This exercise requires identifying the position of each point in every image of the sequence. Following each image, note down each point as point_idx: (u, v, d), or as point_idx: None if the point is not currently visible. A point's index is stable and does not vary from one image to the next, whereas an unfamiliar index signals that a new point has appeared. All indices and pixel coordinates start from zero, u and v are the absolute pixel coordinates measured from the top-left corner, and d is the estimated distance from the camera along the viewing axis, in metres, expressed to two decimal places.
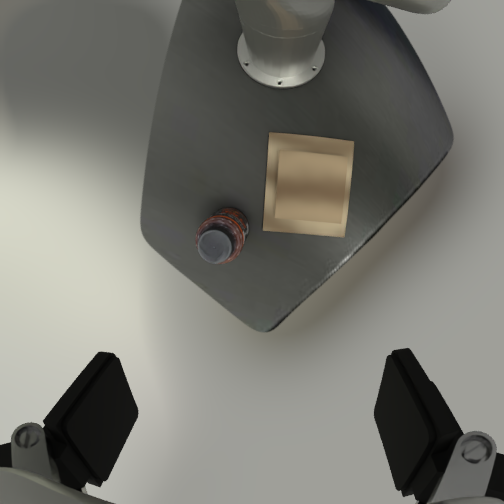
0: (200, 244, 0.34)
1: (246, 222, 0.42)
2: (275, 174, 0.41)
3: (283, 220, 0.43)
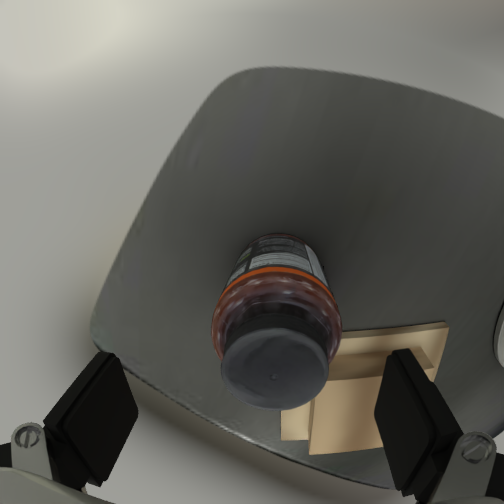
0: (279, 339, 0.10)
1: None
2: (383, 348, 0.21)
3: None
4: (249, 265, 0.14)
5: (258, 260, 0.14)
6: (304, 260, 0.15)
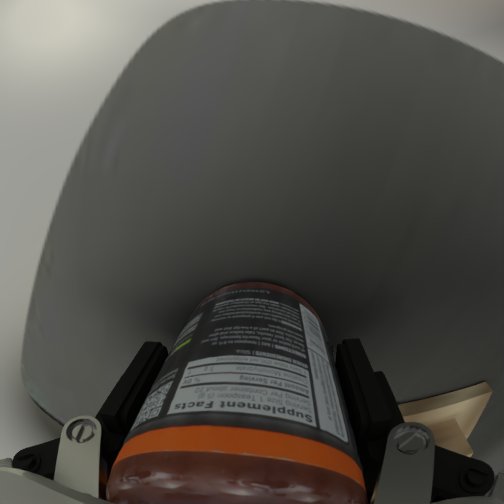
0: None
1: None
2: None
3: None
4: (174, 393, 0.06)
5: (193, 380, 0.06)
6: (298, 373, 0.06)
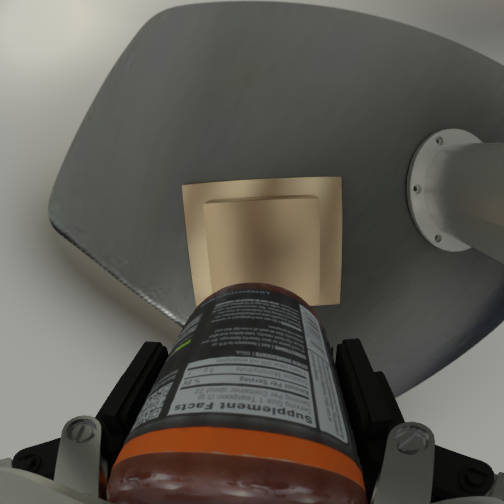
0: None
1: None
2: (274, 192, 0.26)
3: (202, 215, 0.26)
4: (174, 394, 0.06)
5: (193, 381, 0.06)
6: (298, 374, 0.06)
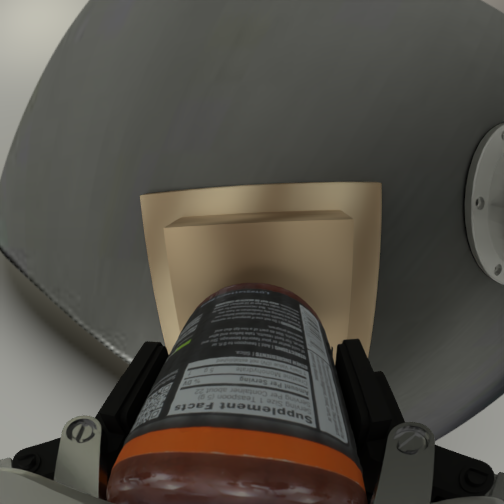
0: None
1: None
2: (279, 206, 0.16)
3: None
4: (174, 394, 0.06)
5: (193, 382, 0.06)
6: (298, 374, 0.06)
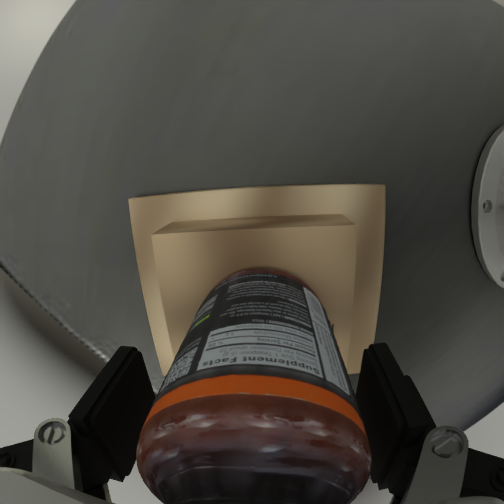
0: None
1: None
2: (276, 210, 0.15)
3: None
4: (200, 355, 0.07)
5: (217, 343, 0.07)
6: (306, 338, 0.08)
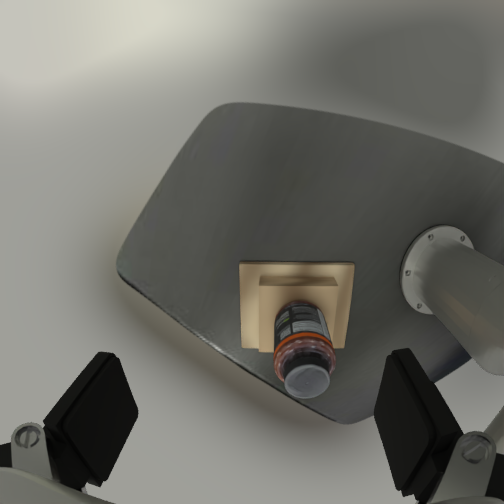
0: (311, 368, 0.23)
1: None
2: (306, 274, 0.36)
3: (253, 286, 0.37)
4: (292, 329, 0.28)
5: (296, 326, 0.28)
6: (319, 325, 0.28)
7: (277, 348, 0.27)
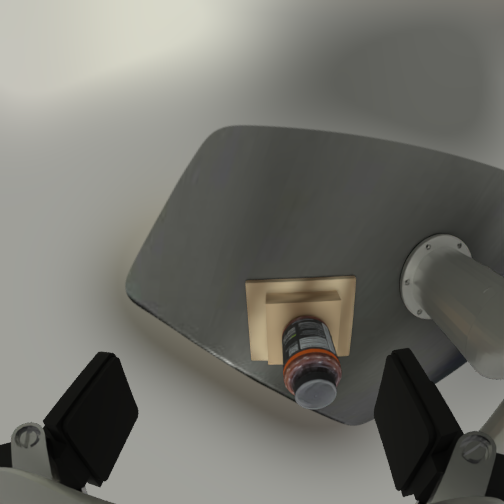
0: (319, 383, 0.24)
1: None
2: (310, 289, 0.37)
3: (260, 303, 0.38)
4: (299, 345, 0.29)
5: (303, 342, 0.29)
6: (324, 340, 0.30)
7: (286, 364, 0.28)
